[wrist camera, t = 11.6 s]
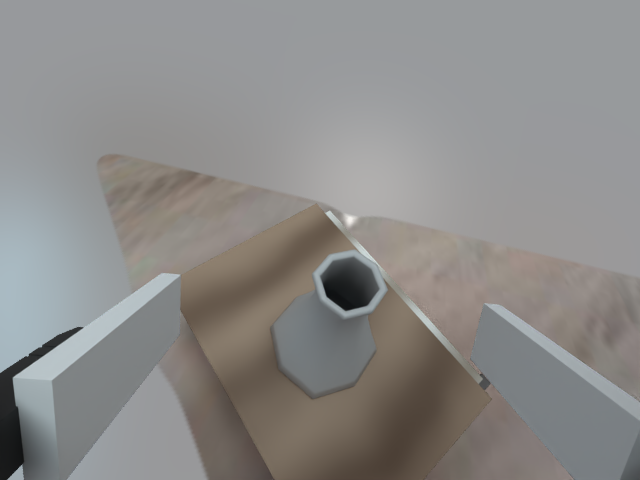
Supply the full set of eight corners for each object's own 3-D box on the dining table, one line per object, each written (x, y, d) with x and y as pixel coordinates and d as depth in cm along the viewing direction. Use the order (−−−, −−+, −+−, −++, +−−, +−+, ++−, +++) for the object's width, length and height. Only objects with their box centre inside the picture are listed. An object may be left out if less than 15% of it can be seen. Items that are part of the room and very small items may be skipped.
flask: (308, 422, 19) (331, 413, 11) (252, 324, 22) (236, 256, 14) (393, 355, 22) (465, 306, 13) (334, 276, 25) (362, 194, 16)
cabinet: (452, 394, 28) (506, 381, 22) (316, 540, 22) (333, 586, 15) (321, 240, 36) (331, 195, 29) (191, 317, 30) (165, 283, 23)
